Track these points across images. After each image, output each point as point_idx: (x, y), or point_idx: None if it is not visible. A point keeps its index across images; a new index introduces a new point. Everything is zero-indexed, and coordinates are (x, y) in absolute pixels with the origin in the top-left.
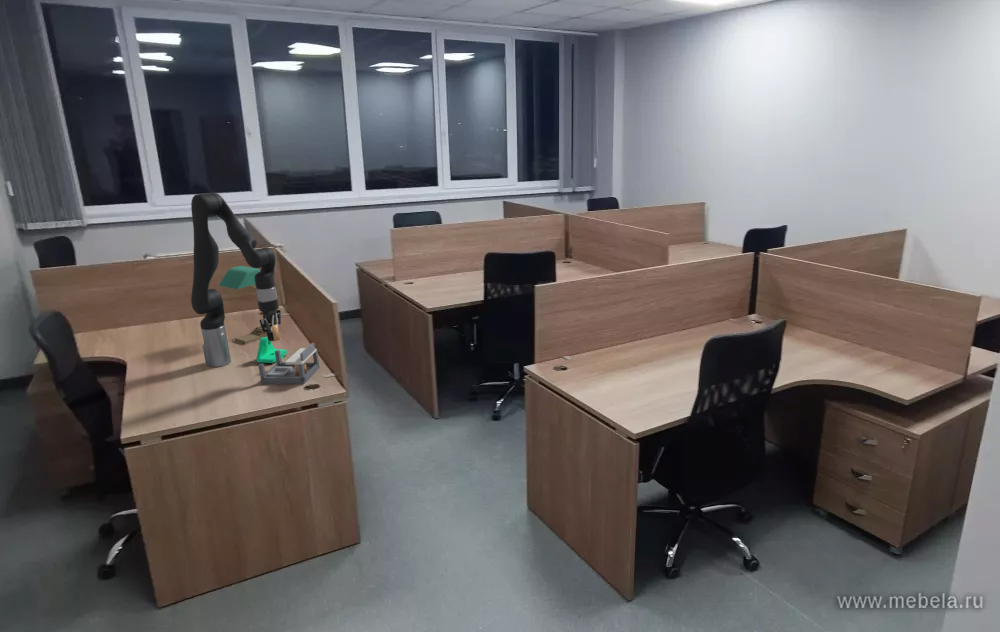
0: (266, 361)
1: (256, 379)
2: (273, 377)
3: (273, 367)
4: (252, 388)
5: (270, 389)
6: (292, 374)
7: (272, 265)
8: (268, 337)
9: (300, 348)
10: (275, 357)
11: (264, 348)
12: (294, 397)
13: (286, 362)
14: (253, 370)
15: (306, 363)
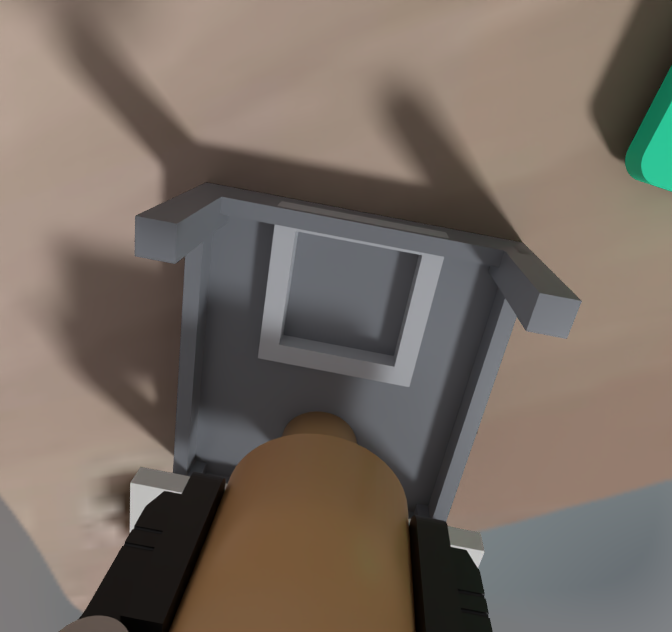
0: (658, 105)
1: (289, 111)
2: (189, 298)
3: (408, 245)
4: (112, 135)
5: (101, 280)
6: (306, 391)
7: None
8: (131, 542)
9: (475, 552)
10: None
11: None
12: (3, 443)
13: (133, 490)
14: (518, 3)
15: (445, 473)
